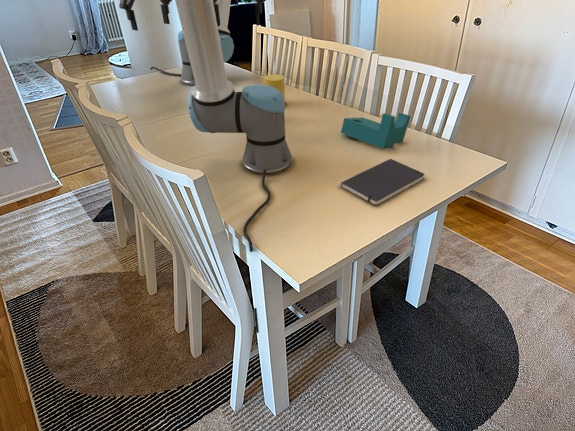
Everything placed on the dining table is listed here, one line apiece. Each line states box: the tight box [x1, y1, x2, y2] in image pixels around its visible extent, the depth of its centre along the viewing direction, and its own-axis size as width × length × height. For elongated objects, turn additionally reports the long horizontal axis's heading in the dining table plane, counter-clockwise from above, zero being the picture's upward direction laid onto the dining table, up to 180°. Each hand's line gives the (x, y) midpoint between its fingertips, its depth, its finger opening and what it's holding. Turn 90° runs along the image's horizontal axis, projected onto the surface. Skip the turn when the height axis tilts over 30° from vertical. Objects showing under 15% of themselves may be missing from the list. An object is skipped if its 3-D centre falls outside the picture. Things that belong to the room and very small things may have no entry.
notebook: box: [340, 158, 425, 206], centre depth 114 cm, size 13×2×21 cm
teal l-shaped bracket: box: [340, 112, 412, 150], centre depth 135 cm, size 18×11×10 cm, turn 43°
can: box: [263, 74, 286, 106], centre depth 164 cm, size 8×8×11 cm
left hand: (151, 26), depth 150 cm, fingers open, 13 cm apart
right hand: (238, 25), depth 139 cm, fingers open, 13 cm apart
